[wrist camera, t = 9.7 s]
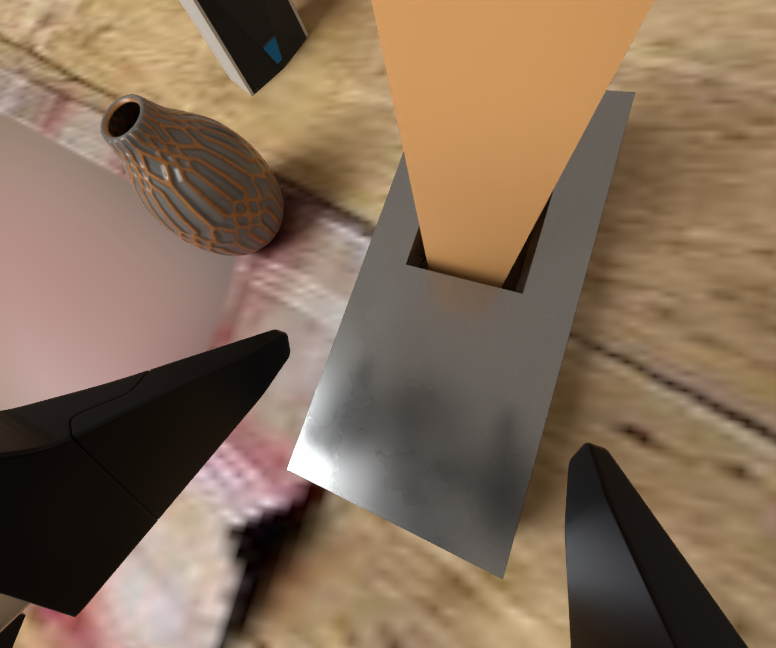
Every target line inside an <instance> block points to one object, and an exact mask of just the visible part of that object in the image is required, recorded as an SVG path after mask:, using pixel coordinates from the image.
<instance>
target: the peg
mask: <svg viewBox="0 0 776 648" xmlns="http://www.w3.org/2000/svg"><path fill="white" fill-rule="evenodd" d="M653 1H654V0H372V5H373V10H374V14H375V19H376V24H377V28H378V33H379V38H380V43H381V47H382V52H383V57H384V61H385V66H386V71H387V75H388V80H389V85H390V90H391V94H392V99H393V104H394V108H395V113H396V118H397V122H398V127H399V132H400V136H401V141H402V146H403V151H404V155H405V160H406V165H407V169H408V174H409V179H410V183H411V188H412V193H413V198H414V202H415V207H416V212H417V216H418V221H419V226H420V230H421V235H422V240H423V244H424V249H425V254H426V259H427V263H428V268H429V271H433V272H437V273H441V274H445V275H449V276H453V277H457V278H461V279H465V280H469V281H473V282H477V283H481V284H485V285H489V286H494V287H498V288H501V287H502V285H503V283H504V281H505V279H506V278H507V276H508V274H509V272H510V270H511V268H512V266H513V264H514V263H515V261H516V259H517V257H518V255H519V253H520V251H521V249H522V247H523V246H524V244H525V242H526V240H527V238H528V236H529V234H530V232H531V231H532V229H533V227H534V225H535V223H536V221H537V219H538V217H539V216H540V214H541V212H542V210H543V208H544V206H545V204H546V202H547V200H548V199H549V197H550V195H551V193H552V191H553V189H554V187H555V185H556V184H557V182H558V180H559V178H560V176H561V174H562V172H563V170H564V169H565V167H566V165H567V163H568V161H569V159H570V157H571V155H572V153H573V152H574V150H575V148H576V146H577V144H578V142H579V140H580V138H581V137H582V135H583V133H584V131H585V129H586V127H587V125H588V123H589V122H590V120H591V118H592V116H593V114H594V112H595V110H596V108H597V106H598V105H599V103H600V101H601V99H602V97H603V95H604V93H605V91H606V90H607V88H608V86H609V84H610V82H611V80H612V78H613V76H614V75H615V73H616V71H617V69H618V67H619V65H620V63H621V61H622V59H623V58H624V56H625V54H626V52H627V50H628V48H629V46H630V44H631V43H632V41H633V39H634V37H635V35H636V33H637V31H638V29H639V28H640V26H641V24H642V22H643V20H644V18H645V16H646V14H647V12H648V11H649V9H650V7H651V5H652V3H653Z"/></svg>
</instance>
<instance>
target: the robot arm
mask: <svg viewBox="0 0 776 648" xmlns="http://www.w3.org/2000/svg"><path fill="white" fill-rule="evenodd" d="M289 355H290V347H289V341H288V336H287V334H286V333H285V332H282V331H279V330H271V331H268V332H265V333H262V334H259V335H256V336H253V337H249V338H246V339H243V340H240V341H237V342H234V343H231V344H228V345H225V346H222V347H219V348H216V349H212V350H209V351H206V352H203V353H200V354H197V355H194V356H191V357H188V358H185V359H182V360H179V361H175V362H172V363H169V364H166V365H163V366H160V367H157V368H154V369H151V370H150V371H144V372H141V373H138V374H135V375H132V376H129V377H126V378H122V379H119V380H116V381H113V382H110V383H106V384H103V385H99V386H96V387H92V388H88V389H85V390H81V391H77V392H74V393H70V394H66V395H63V396H59V397H55V398H51V399H48V400H44V401H40V402H36V403H33V404H29V405H25V406H21V407H17V408H13V409H8V410H3V411H0V648H12V647H13V645H14V642H15V640H16V637H17V635H18V632H19V630H20V628H21V625H22V623H23V620H24V618H25V614H24V613H23V611H24V610H25V609H26V608H27V607H28V606H29V605H30V604H31V603H32V604H35V605H38V606H41V607H44V608H47V609H51V610H54V611H57V612H60V613H63V614H66V615H70V616H73V617H76V616H77V615H78V614H79V613H80V612H81V611H82V610H83V609H84V607H85V606H86V605H87V604H88V603H89V602H90V600H91V599H92V598H93V597H94V596H95V594H96V593H97V592H98V591H99V590H100V589H101V587H102V586H103V585H104V584H105V583H106V581H107V580H108V579H109V578H110V577H111V575H112V574H113V573H114V572H115V571H116V569H117V568H118V567H119V566H120V565H121V563H122V562H123V561H124V560H125V559H126V558H127V556H128V555H129V554H130V553H131V552H132V550H133V549H134V548H135V547H136V546H137V544H138V543H139V542H140V541H141V540H142V539H143V537H144V536H145V535H146V534H147V533H148V531H149V530H150V529H151V528H152V527H153V525H154V524H155V523H156V522H157V520H158V519H159V518H160V517H161V516H162V514H163V513H164V512H165V511H166V510H167V509H168V507H169V506H170V505H171V504H172V503H173V501H174V500H175V499H176V498H177V497H178V495H179V494H180V493H181V492H182V491H183V489H184V488H185V487H186V486H187V485H188V484H189V482H190V481H191V480H192V479H193V478H194V476H195V475H196V474H197V473H198V472H199V470H200V469H201V468H202V467H203V466H204V464H205V463H206V462H207V461H208V460H209V459H210V457H211V456H212V455H213V454H214V453H215V451H216V450H217V449H218V448H219V447H220V445H221V444H222V443H223V442H224V441H225V439H226V438H227V437H228V436H229V435H230V434H231V432H232V431H233V430H234V429H235V428H236V426H237V425H238V424H239V423H240V422H241V420H242V419H243V418H244V417H245V416H246V414H247V413H248V412H249V411H250V410H251V409H252V407H253V406H254V405H255V404H256V403H257V401H258V400H259V399H260V398H261V396H262V395H263V394H264V393H265V391H266V390H267V388H268V387H269V386H270V384H271V383H272V381H273V380H274V378H275V377H276V375H277V374H278V372H279V371H280V369H281V368H282V366H283V365H284V364H285V362H286V361H287V359H288V357H289ZM565 545H566V564H567V582H568V601H569V619H570V638H571V648H748V647H747V645H746V644H745V642H744V641H743V640H742V638H741V637H740V635H739V634H738V633H737V631H736V630H735V628H734V627H733V626H732V624H731V623H730V621H729V620H728V619H727V617H726V616H725V614H724V613H723V612H722V610H721V609H720V607H719V606H718V604H717V603H716V602H715V600H714V599H713V597H712V596H711V595H710V593H709V592H708V590H707V589H706V588H705V586H704V585H703V583H702V582H701V581H700V579H699V578H698V576H697V575H696V574H695V572H694V571H693V569H692V568H691V567H690V565H689V564H688V562H687V561H686V560H685V558H684V557H683V555H682V554H681V553H680V551H679V550H678V548H677V547H676V546H675V544H674V543H673V541H672V540H671V538H670V537H669V536H668V534H667V533H666V531H665V530H664V529H663V527H662V526H661V524H660V523H659V522H658V520H657V519H656V517H655V516H654V515H653V513H652V512H651V510H650V509H649V508H648V506H647V505H646V503H645V502H644V501H643V499H642V498H641V496H640V495H639V494H638V492H637V491H636V489H635V488H634V487H633V485H632V484H631V482H630V481H629V479H628V478H627V477H626V475H625V474H624V472H623V471H622V470H621V468H620V467H619V465H618V464H617V463H616V461H615V460H614V458H613V457H612V456H611V454H610V453H609V452H608V451H607V450H606V449H605V448H603V447H600V446H597V445H594V444H592V443H585V444H584V445H583V446H582V447H581V448H580V449H579V450H578V452H577V453H576V454H575V455H574V456H573V457H572V458H571V460H570V463H569V467H568V482H567V497H566V513H565Z"/></svg>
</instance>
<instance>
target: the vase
mask: <svg viewBox="0 0 776 648" xmlns="http://www.w3.org/2000/svg"><path fill="white" fill-rule="evenodd" d="M101 133H102V136H103V138H104V139H105V141H106V142H107V143H108V144H109V146H110V147H111V148H112V149H113V150H114V152H115V153H116V154H117V156H118V157H119V159H120V160H121V162H122V164H123V166H124V169H125V171H126V173H127V175H128V178H129V180H130V182H131V184H132V186H133V188H134V190H135V192H136V194H137V196H138V198H139V199H140V201H141V202H142V204H143V205H144V207H145V208H146V209H147V210H148V211H149V213H150V214H151V215H152V216H153V217H154V218H155V219H156V220H157V221H158V222H159V223H160V224H162V225H163V226H164V227H165V228H166V229H167V230H169V231H170V232H171V233H173V234H174V235H176V236H177V237H179V238H180V239H182V240H184V241H186V242H187V243H189V244H191V245H193V246H196V247H198V248H200V249H203V250H206V251H208V252H212V253H216V254H221V255H229V256H240V255H246V254H250V253H253V252H256V251H258V250H260V249H262V248H263V247H265V246H266V245H267V244H268V243H270V242H271V241H272V240H273V238H274V237H275V236H276V234H277V233H278V231H279V228H280V226H281V223H282V220H283V213H284V202H283V197H282V193H281V189H280V187H279V184H278V182H277V179H276V178H275V176H274V174H273V172H272V170H271V169H270V167H269V166H268V164H267V163H266V162H265V160H264V159H263V158H262V157H261V155H260V154H259V153H258V152H257V151H256V150H255V149H254V147H253V146H252V145H251V144H249V143H248V142H247V141H246V140H245V139H244V138H242V137H241V136H240V135H238V134H237V133H236V132H234V131H233V130H231V129H230V128H228V127H226V126H225V125H223V124H221V123H219V122H217V121H215V120H213V119H210V118H208V117H205V116H202V115H198V114H194V113H189V112H185V111H180V110H175V109H170V108H166V107H163V106H160V105H157V104H155V103H153V102H151V101H149V100H147V99H145V98H143V97H141V96H138V95H134V94H130V95H125V96H123V97H121V98H119V99H117V100H116V101H115V102H113V103H112V104H111V105H110V107H109V108H108V109H107V110H106V112H105V114H104V116H103V118H102V122H101Z"/></svg>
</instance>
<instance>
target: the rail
mask: <svg viewBox="0 0 776 648" xmlns="http://www.w3.org/2000/svg"><path fill="white" fill-rule="evenodd" d="M634 95H635V92H622V91H605V93H604V95H603V97H602V99H601V101H600V103H599V105H598V106H597V108H596V110H595V112H594V114H593V116H592V118H591V120H590V122H589V123H588V125H587V127H586V129H585V131H584V133H583V135H582V137H581V138H580V140H579V142H578V144H577V146H576V148H575V150H574V152H573V153H572V155H571V157H570V159H569V161H568V163H567V165H566V167H565V169H564V170H563V172H562V174H561V176H560V178H559V180H558V182H557V184H556V185H555V187H554V189H553V191H552V193H551V195H550V197H549V199H548V200H547V202H546V204H545V206H544V208H543V210H542V212H541V214H540V216H539V217H538V219H537V221H536V224H535V227H534V231H533V234H532V237H531V241H530V244H529V247H528V251H527V254H526V257H525V261H524V264H523V267H522V271H521V274H520V277H519V281H518V284H517V288H516V291H515V292H514V291H510V290H506V289H502V288H498V287H494V286H489V285H485V284H481V283H477V282H473V281H469V280H465V279H461V278H457V277H453V276H449V275H445V274H441V273H437V272H433V271H429V270H425V269H421V268H419V266H420V263H421V260H422V257H423V254H424V252H425V249H424V244H423V240H422V235H421V230H420V226H419V221H418V216H417V212H416V207H415V202H414V198H413V193H412V188H411V183H410V179H409V174H408V169H407V165H406V160H405V155H404V152H403V155H402V158H401V160H400V163H399V166H398V169H397V171H396V174H395V177H394V179H393V182H392V185H391V188H390V190H389V193H388V196H387V199H386V201H385V204H384V207H383V209H382V212H381V215H380V218H379V220H378V223H377V226H376V229H375V231H374V234H373V237H372V239H371V242H370V245H369V248H368V250H367V253H366V256H365V259H364V261H363V264H362V267H361V269H360V272H359V275H358V278H357V280H356V283H355V286H354V289H353V291H352V294H351V297H350V300H349V302H348V305H347V308H346V310H345V313H344V316H343V319H342V321H341V324H340V327H339V330H338V332H337V335H336V338H335V340H334V343H333V346H332V349H331V351H330V354H329V357H328V360H327V362H326V365H325V368H324V370H323V373H322V376H321V379H320V381H319V384H318V387H317V390H316V392H315V395H314V398H313V400H312V403H311V406H310V409H309V411H308V414H307V417H306V420H305V422H304V425H303V428H302V430H301V433H300V436H299V439H298V441H297V444H296V447H295V450H294V452H293V455H292V458H291V460H290V463H289V466H288V470H290V471H292V472H294V473H296V474H298V475H300V476H301V477H303V478H305V479H307V480H309V481H311V482H313V483H315V484H317V485H319V486H321V487H323V488H325V489H327V490H329V491H331V492H333V493H335V494H337V495H339V496H341V497H343V498H345V499H347V500H348V501H350V502H352V503H354V504H356V505H358V506H360V507H362V508H364V509H366V510H368V511H370V512H372V513H374V514H376V515H378V516H380V517H382V518H384V519H386V520H388V521H390V522H392V523H394V524H396V525H397V526H399V527H401V528H403V529H405V530H407V531H409V532H411V533H413V534H415V535H417V536H419V537H421V538H423V539H425V540H427V541H429V542H431V543H433V544H435V545H437V546H439V547H441V548H443V549H445V550H446V551H448V552H450V553H452V554H454V555H456V556H458V557H460V558H462V559H464V560H466V561H468V562H470V563H472V564H474V565H476V566H478V567H480V568H482V569H484V570H486V571H488V572H490V573H492V574H494V575H495V576H497V577H499V578H501V579H503V577H504V573H505V570H506V566H507V562H508V559H509V555H510V551H511V547H512V544H513V540H514V536H515V533H516V529H517V525H518V522H519V518H520V514H521V511H522V507H523V503H524V500H525V496H526V492H527V489H528V485H529V481H530V478H531V474H532V470H533V466H534V463H535V459H536V455H537V452H538V448H539V444H540V441H541V437H542V433H543V430H544V426H545V422H546V419H547V415H548V411H549V408H550V404H551V400H552V397H553V393H554V389H555V385H556V382H557V378H558V374H559V371H560V367H561V363H562V360H563V356H564V352H565V349H566V345H567V341H568V338H569V334H570V330H571V327H572V323H573V319H574V315H575V312H576V308H577V304H578V301H579V297H580V293H581V290H582V286H583V282H584V279H585V275H586V271H587V268H588V264H589V260H590V257H591V253H592V249H593V246H594V242H595V238H596V234H597V231H598V227H599V223H600V220H601V216H602V212H603V209H604V205H605V201H606V198H607V194H608V190H609V187H610V183H611V179H612V176H613V172H614V168H615V165H616V161H617V157H618V153H619V150H620V146H621V142H622V139H623V135H624V131H625V128H626V124H627V120H628V117H629V113H630V109H631V106H632V102H633V98H634Z"/></svg>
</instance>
